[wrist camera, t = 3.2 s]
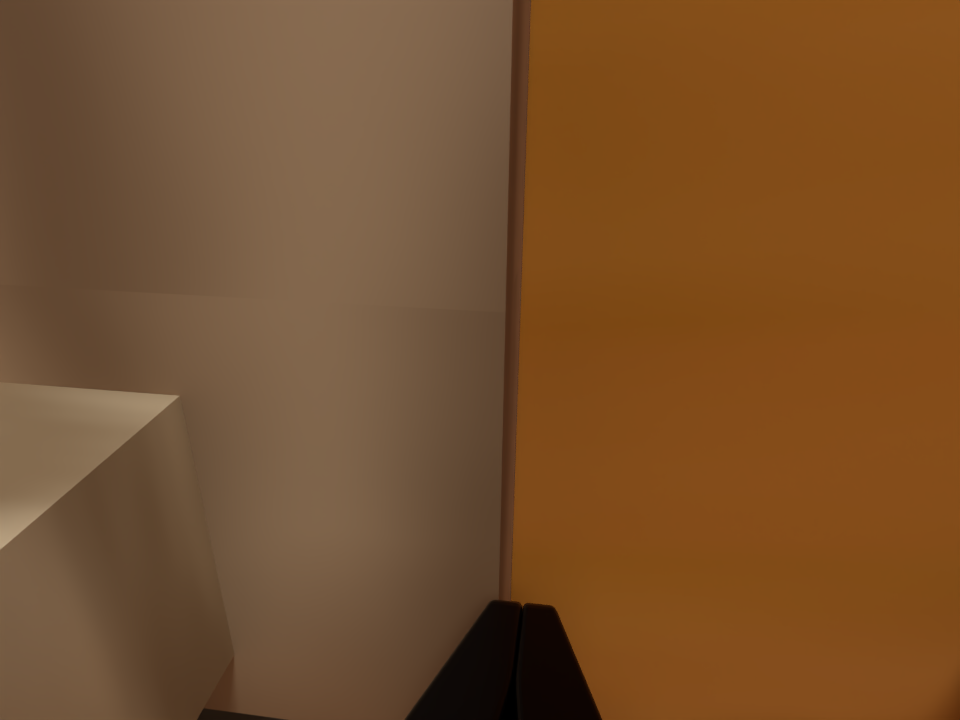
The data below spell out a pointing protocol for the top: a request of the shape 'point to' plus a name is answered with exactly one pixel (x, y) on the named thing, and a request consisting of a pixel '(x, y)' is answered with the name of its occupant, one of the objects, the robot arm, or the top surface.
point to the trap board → (290, 302)
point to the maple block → (104, 560)
